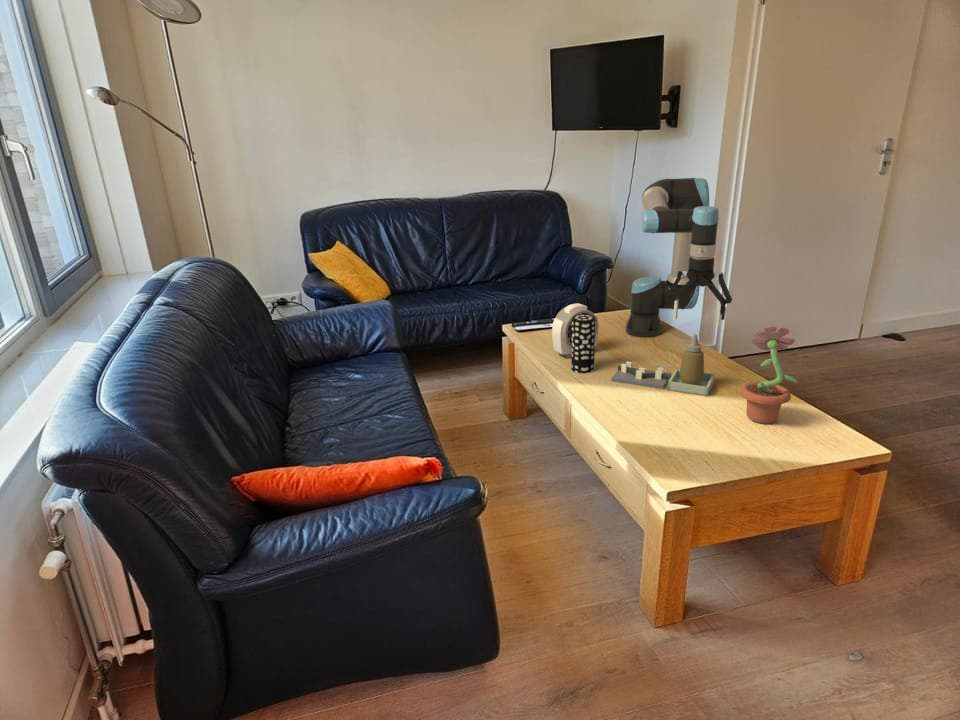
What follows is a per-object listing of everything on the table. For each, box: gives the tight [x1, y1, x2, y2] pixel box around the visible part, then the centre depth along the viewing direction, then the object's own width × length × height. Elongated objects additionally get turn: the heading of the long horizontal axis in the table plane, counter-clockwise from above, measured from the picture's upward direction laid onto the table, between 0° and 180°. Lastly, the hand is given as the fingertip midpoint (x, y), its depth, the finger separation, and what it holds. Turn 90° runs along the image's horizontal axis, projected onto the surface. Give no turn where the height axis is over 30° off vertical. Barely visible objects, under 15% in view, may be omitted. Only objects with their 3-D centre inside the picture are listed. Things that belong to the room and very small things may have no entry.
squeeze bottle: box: [679, 334, 705, 386], centre depth 211 cm, size 8×8×18 cm
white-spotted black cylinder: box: [570, 314, 596, 374], centre depth 229 cm, size 8×8×20 cm
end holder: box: [666, 368, 715, 397], centre depth 213 cm, size 13×13×3 cm
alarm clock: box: [551, 302, 600, 359], centre depth 244 cm, size 18×8×20 cm, turn 117°
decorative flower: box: [739, 325, 799, 425], centre depth 184 cm, size 15×14×30 cm
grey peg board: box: [610, 360, 672, 390], centre depth 221 cm, size 12×18×4 cm, turn 62°
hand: (696, 321), depth 206 cm, fingers open, 13 cm apart
